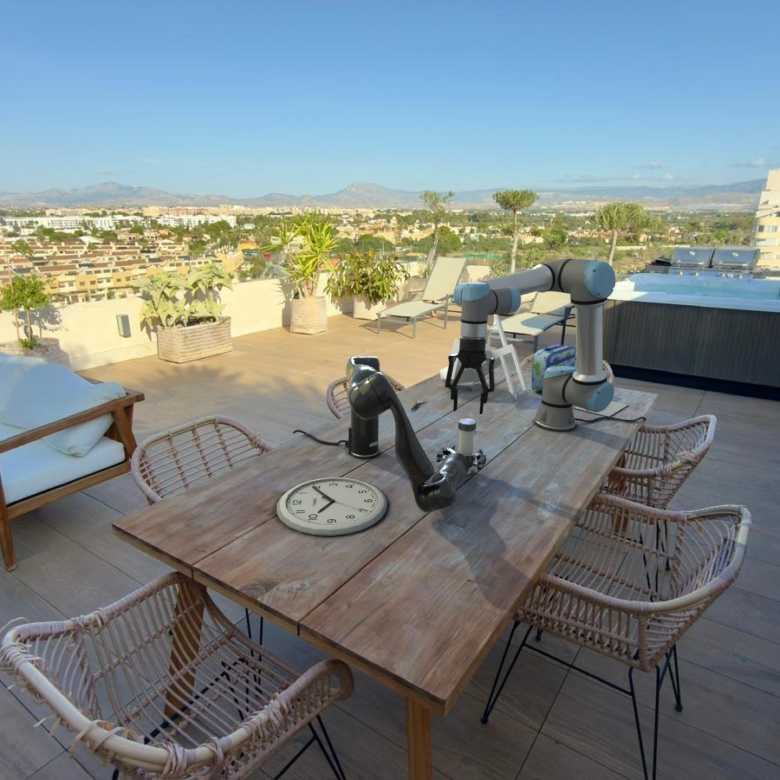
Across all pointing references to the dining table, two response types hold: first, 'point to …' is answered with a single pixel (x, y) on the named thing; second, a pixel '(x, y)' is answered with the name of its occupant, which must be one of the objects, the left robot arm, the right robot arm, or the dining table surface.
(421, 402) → the fork
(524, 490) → the dining table surface
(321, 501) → the wall clock
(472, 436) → the off-white long cylinder
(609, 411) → the invitation card
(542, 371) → the lunch box
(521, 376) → the white plastic object
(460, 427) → the lid
